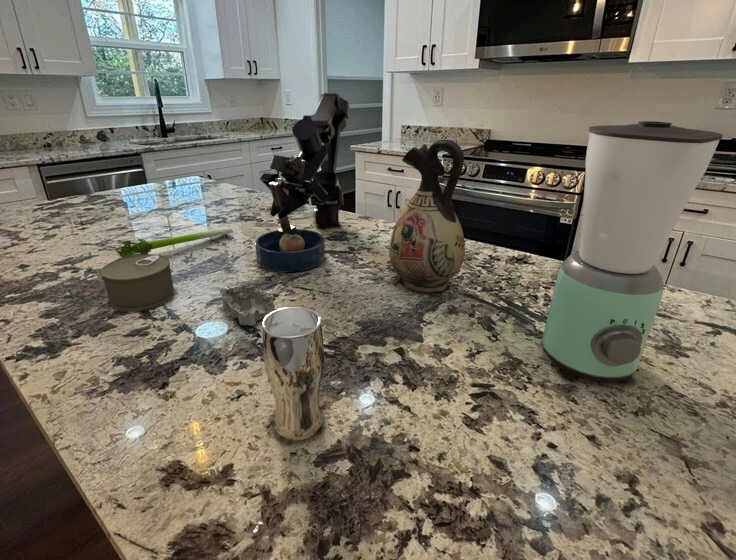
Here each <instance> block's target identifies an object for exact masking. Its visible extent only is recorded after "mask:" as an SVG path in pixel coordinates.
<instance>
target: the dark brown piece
mask: <svg viewBox="0 0 736 560" xmlns="http://www.w3.org/2000/svg"><path fill="white" fill-rule="evenodd" d="M269 185H270V189H271V190H270V189H269V190H270V192H271V196H272V201H273V200H274V203H275V207H276V211H277V214H276V215H278V214H279V212H280V210H281V208H282V206H283V204H284V200H283V196H282V192H281V189H280V185H279V183H275V182H271V183H269ZM277 218H278V221H279V224H280V227H279V228H278V229H276V230H277V233H278V234H281V235H284V234H291V233H293V232H294V231H296V229H297V226H294V225H292V224H291V223H290V219H289V214H288V215H287V216H285V217H284V218H282V219H280V218H279V217H278V216H277Z"/></svg>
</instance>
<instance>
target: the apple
mask: <svg viewBox="0 0 736 560" xmlns="http://www.w3.org/2000/svg"><path fill="white" fill-rule="evenodd" d="M279 245H280V250H281V252H295V251H302V250H304V246H305V242H304V240H303V239H302V237H301V236H299V235H297V234H294V235H290V234H284V235H283V236H282V238H281V239H280V243H279Z"/></svg>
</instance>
